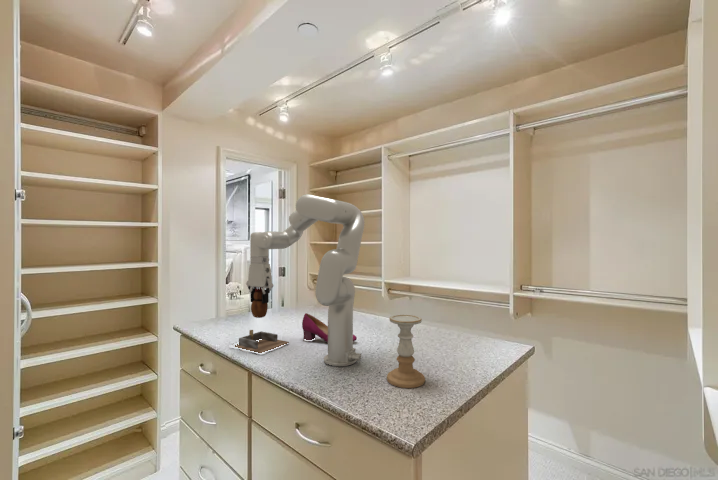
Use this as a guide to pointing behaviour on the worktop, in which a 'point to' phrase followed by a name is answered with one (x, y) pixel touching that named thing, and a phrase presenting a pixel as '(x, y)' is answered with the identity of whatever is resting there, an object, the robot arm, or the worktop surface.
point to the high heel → (315, 328)
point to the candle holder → (405, 354)
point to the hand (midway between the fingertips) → (259, 301)
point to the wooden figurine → (258, 304)
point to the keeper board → (260, 341)
